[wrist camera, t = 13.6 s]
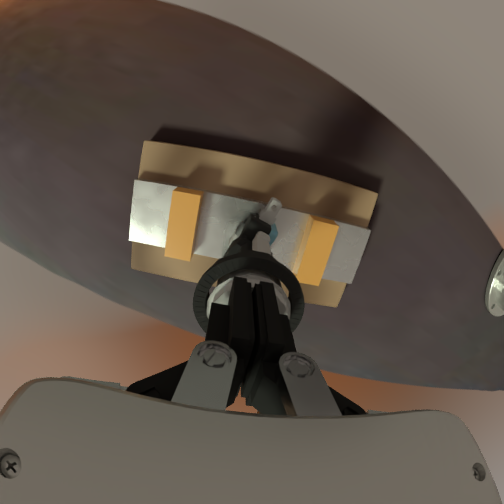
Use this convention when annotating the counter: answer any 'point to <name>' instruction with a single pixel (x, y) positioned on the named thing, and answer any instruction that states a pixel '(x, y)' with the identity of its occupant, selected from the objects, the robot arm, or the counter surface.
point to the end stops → (186, 223)
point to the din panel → (253, 187)
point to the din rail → (241, 227)
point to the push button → (251, 269)
